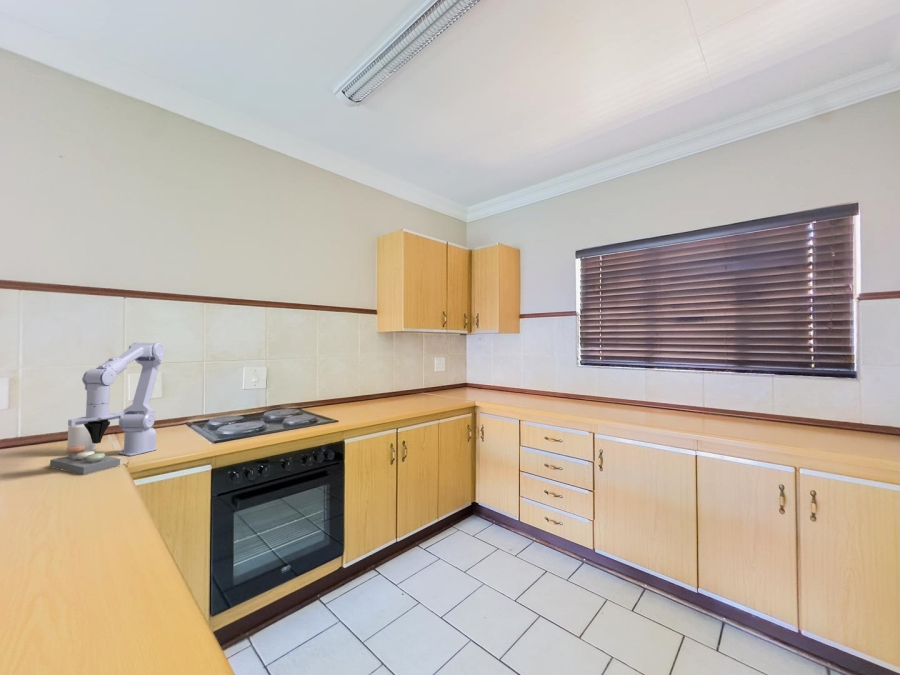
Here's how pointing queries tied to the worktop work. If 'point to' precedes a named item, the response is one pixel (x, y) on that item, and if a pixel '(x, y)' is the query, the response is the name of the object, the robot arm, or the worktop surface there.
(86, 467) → the button panel
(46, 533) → the worktop surface
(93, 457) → the sage button
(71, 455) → the terracotta button
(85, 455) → the cream button
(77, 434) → the translucent white cylinder
